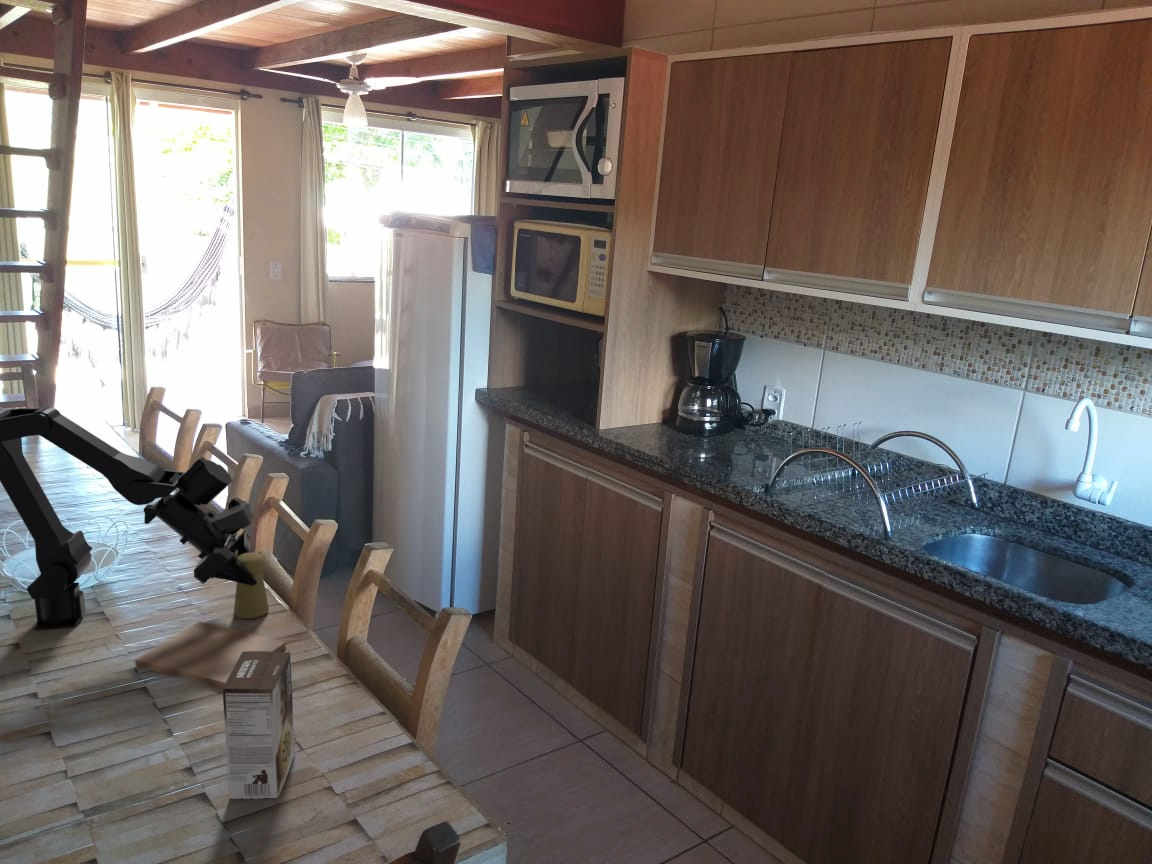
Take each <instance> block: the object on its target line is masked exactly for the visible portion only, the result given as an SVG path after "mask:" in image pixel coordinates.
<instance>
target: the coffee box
mask: <svg viewBox="0 0 1152 864" xmlns="http://www.w3.org/2000/svg"><path fill="white" fill-rule="evenodd" d="M291 663H292V662H291V652H290V651H281V652H269V651H245V652H242V654H241V655H240V657H239V659H238V661H237V663H236V665H235V666H234V668H233V670H232V672H231V674H230V676H229V677H228V679H227V681H226V683H225V685H224V687H223V689H221V690H222V697H223V698H222V700H223V716H224V717H223V718H224V731H225V732H224V733H225V746H226V747H225V749H226V761H227V762H226V763H227V765H226V766H227V781H228V782H227V783H228V797H229V798H228V799H230V800H262V799H263V798H270V799H269V800H272V799H271V798H277V799H279V798H280V796H279V795H281V793H282V790H283V788H284V785H285V782H286V779H287V778H288V777H287V776H288V774H289V771H290V769H291V766H292V763H293V761H294V757H295V756H296V748H295V746H296V745H295V729H294V707H293V706H294V704H293V703H294V702H293V686H292V685H293V681H292V665H291ZM278 797H279V798H278ZM241 798H242V799H241ZM251 798H252V799H251ZM258 798H259V799H258ZM261 798H262V799H261ZM263 800H264V799H263Z"/></svg>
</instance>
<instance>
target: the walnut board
mask: <svg viewBox="0 0 1152 864" xmlns="http://www.w3.org/2000/svg"><path fill="white" fill-rule="evenodd" d="M286 643H287V642H286V641H284V640H279V639H274V638H270V637H266V636H261V635H257V634H253V633H249V632H245V631H241V630H237V629H231V628H226V627H225V626H224V627H223V626H219V625H214V624H209V623H206V622H203V621H197V622H195V623H194V624H192V625H190V626H189V627H186V628H185V629H184V630H182V631H181V632H179V633H177V634H176V635H174V636H172V637H170V638H169V639H167V640H166V641H165V642H163V643H160V644H159V645H157V646H156V647H154V648H153V649H150V650H149V651H148V652H146V653H144V654H142V655H141V656H139V657H138V658H136V659H135V667H137V668H141V669H145V670H149V671H152V672H157V673H159V674H163V675H168V676H171V677H176V678H179V679H184V680H186V681H191V682H194V683H198V684H202V685H206V686H210V687H214V688H217V689H221V690H222V689H223V687H224V685H225V683H226V681H227V679H228V677H229V676H230V674H231V672H232V670H233V668H234V666H235V665H236V663H237V661H238V659H239V657H240V655H241V654H242V652H245V651H269V652H284V650H285V649H287V648H286V647H287V646H286V645H287V644H286Z"/></svg>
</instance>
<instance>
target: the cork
mask: <svg viewBox="0 0 1152 864" xmlns="http://www.w3.org/2000/svg"><path fill="white" fill-rule="evenodd" d="M238 560H239V561H240V562H241V563H242V565H243V566H244V567H245V568H246V569H247V570H248V571H249V572H250V573H251V574H252V575H253V576H254V578H255V579H256V580H257V583H256V584H255V585H254V586H251V585H247V584H243V583H239V582H236V587H235V588H236V589H235V595H234V596H235V598H234V607H233V615H234V616H235V617H237V618H240V619H255V618H260V617H262V616H264V615H266V614H268V612H269V610H270V607H269V601H268V598H267V597H268V596H267V592H266V591H267V590H266V587H265V581H264V576H263V571H264V569H265V566H266V562H265V558H264V556H263V555H262V554H260V553H258V552H252V551H251V553H244V554H241V555H239V556H238Z"/></svg>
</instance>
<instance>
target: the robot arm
mask: <svg viewBox="0 0 1152 864" xmlns="http://www.w3.org/2000/svg"><path fill="white" fill-rule="evenodd" d="M31 436H39V437H42V438H43V439H44V440H46V441H48V442H49V443H51V444H53V445H55V446H56V447H58V448H59V449H61V450H62V451H64V452H66V453H67V454H69V455H71V456H72V457H74V458H76V459H77V460H79V461H80V462H82V463H83V464H85V465H86V466H88V467H90V468H91V469H94V470H95V471H96V472H98V473H100V474H101V475H102V476H103V477H105V478H106V480H107V481H108V482H109V484H110V485H111V487H112V488H113V490H115V491H116V492H117V494H120V496H121V497H123V498H124V499H125V501H128V502H129V503H130V504H133V505H136V506H144V505H146V506H144V508H143V512H144V521H143V522H144V524H145V525H148V524H150V523H151V522H153V520H154V519H155V518H158V519H159V520H161V522H163V524H165V525H166V526H168V527H169V528H170V529H171V530H173V531H174V533H176V534H177V535H179V536H180V537H181V538H180V539H179V542H180V543H181V544H182V545H185V544H186V543H188V544H189V545H191V546H192V547H193V548H195V550H197V551H198V552H199V554H198V555H197V557H198V558H200V560H199V561H198V562H197V564H196V566H195V568H194V569H193V577H194V578H195V580H196V581H198V582H200V583H201V584H202V585H205V583H207V582H208V581H209V580H210V579H211V580H212V579H214V578H215V579H221V580H225V581H231V582H234V583H235V582H236V583H237V582H239V583H243V584H247V585H251V586H254V585H255V584H256V583H257V580H256V579H255V578H254V576H253V575H252V574H251V573H250V572H249V571H248V570H247V569H246V568H245V567H244V566H243V565H242V563H241V562H240V561H239V560H238V556H239V555H241V554H244V553H251V552H252V551H251V549H250V548H249V546H248V543H247V530H246V529H245V528H247V527H248V526H250V525H251V524H252V520H253V519H254V518H255V516H254V515H253V512H252V510H251V509H250V508H251V503H248V502H247V500H243V499H241V498H239V497H238V496H235V497H234V498H231V499H230V500H228V503H227V508H225V509H224V510H223V511H221V512H219V513H217V512H216V511H214V510H212V509H208V510H207V511H205V510H204V509H203V508H202V507H201V505H204V506H205V505H206V506H207V505H209V504H210V503H211V502H212V501H213V500H214V499H215V498H217V496H219V494H221V493H222V492H223V491H224V490H226V488H227V487H228V486H229V485H230V484H232V481H233V480H232V477H231V475H230V473H229V472H228V470H226V469H225V467H224V466H222V464H218V463H216V462H214V461H212V460H209V459H206V458H205V457H204V456H201V455H199V457H198V458H197V459H196V460H195V461H194V462H193V463H192V465H191V466H190V467H189V468H188V469H187V470H186V471H179V470H170V469H164V468H162V467H161V466H160V465H157V464H155V463H153V462H150V461H148V460H146V459H144V458H141V457H138V456H133V455H130V454H129V455H128V454H126V453H124V452H121V451H120V450H119V449H117V448H115V447H113V446H112V445H110V444H109V443H107V442H106V441H104V440H102V439H101V438H99V437H98V436H96V435H95V434H93V433H91V432H90V431H88V430H86V429H85V428H84V427H82V426H80V424H77V423H76V422H74V421H73V420H71V419H70V418H67V417H66V416H65V415H63V414H61V412H60V410H58V409H56V408H54V407H52V406H42V407H36V408H35V407H31V408H30V407H20V408H11V409H8V408H4V407H2V406H0V484H1V485H2V488H3V489H4V490H5V492H6V494H7V496H8V497H9V500H10V502H12V505H13V507H14V508H15V509H16V511H17V513H18V514H19V517H20V518H21V520H22V522H23V524H24V525H25V528H26V529H27V530H28V532H29V534H30V535H31V537H32V539H33V541H34V548H35V550H34V551H35V561H36V565H37V567H38V570H39V573H40V574H39V575H38V576H37V577H36V578H35V580H33V581H32V582H31V583H30V584H29V585H28V586H27V587H26V591H27V592H28V594H29V596H30V598H31V599H32V600H34V606H35V607H34V608H35V615H36V622H35V624H34V626H33V630H45V629H57V628H71V627H76V626H77V625H78V624H79V622H80V621H81V619H82V618H83V616H84V615H85V612H86V605H85V603H86V602H85V593H84V591H83V590H81V589H80V582H76V581H78V580H79V579H80V577H81V575H82V574H83V573H84V572H85V570H86V569H87V568H88V567H89V566H90V563H91V561H92V553H91V551H92V550H93V547H92V546H91V545H89V543H88V542H87V541H86V537H85V535H84V532H83V531H82V530H78V531H76V532H74V533H73V532H72V531H70V530H69V529H67V528H66V527H65V526H64V525H63V524H62V522H61V520H60V518H59V516H58V514H57V513H56V511H55V509H54V507H53V506H52V504H51V502H50V501H49V499H48V496H47V495H46V493H45V491H44V490H43V488H42V486H41V484H40V482H39V481H38V479H37V477H36V476H35V473H34V472H33V470H32V468H31V466H30V464H29V463H28V461H27V459H26V458H25V456H24V453H23V439H22V438H26V437H31ZM176 489H178V490H177V491H176V492H175V493H174V494H172V493H173V492H174V491H175V490H176ZM156 499H159V500H158V501H156V502H155V503H154V504H152V503H153V502H154V501H155V500H156ZM150 503H151V504H150ZM244 529H245V530H244ZM241 530H244V531H243V532H242V533H239V531H241Z"/></svg>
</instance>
